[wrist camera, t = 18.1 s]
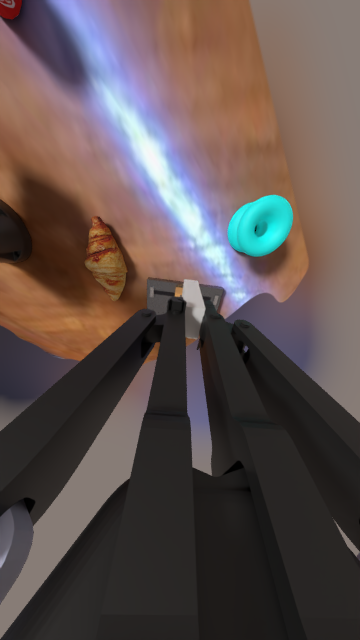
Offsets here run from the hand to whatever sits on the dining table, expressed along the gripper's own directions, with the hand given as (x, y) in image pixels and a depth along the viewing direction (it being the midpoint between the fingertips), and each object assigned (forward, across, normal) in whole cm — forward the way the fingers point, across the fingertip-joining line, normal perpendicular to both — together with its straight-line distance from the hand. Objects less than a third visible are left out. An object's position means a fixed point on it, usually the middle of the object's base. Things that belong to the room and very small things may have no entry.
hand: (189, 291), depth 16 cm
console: (+26, +1, -15) cm, 30 cm away
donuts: (+27, +14, +8) cm, 31 cm away
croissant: (+27, -21, -4) cm, 34 cm away
